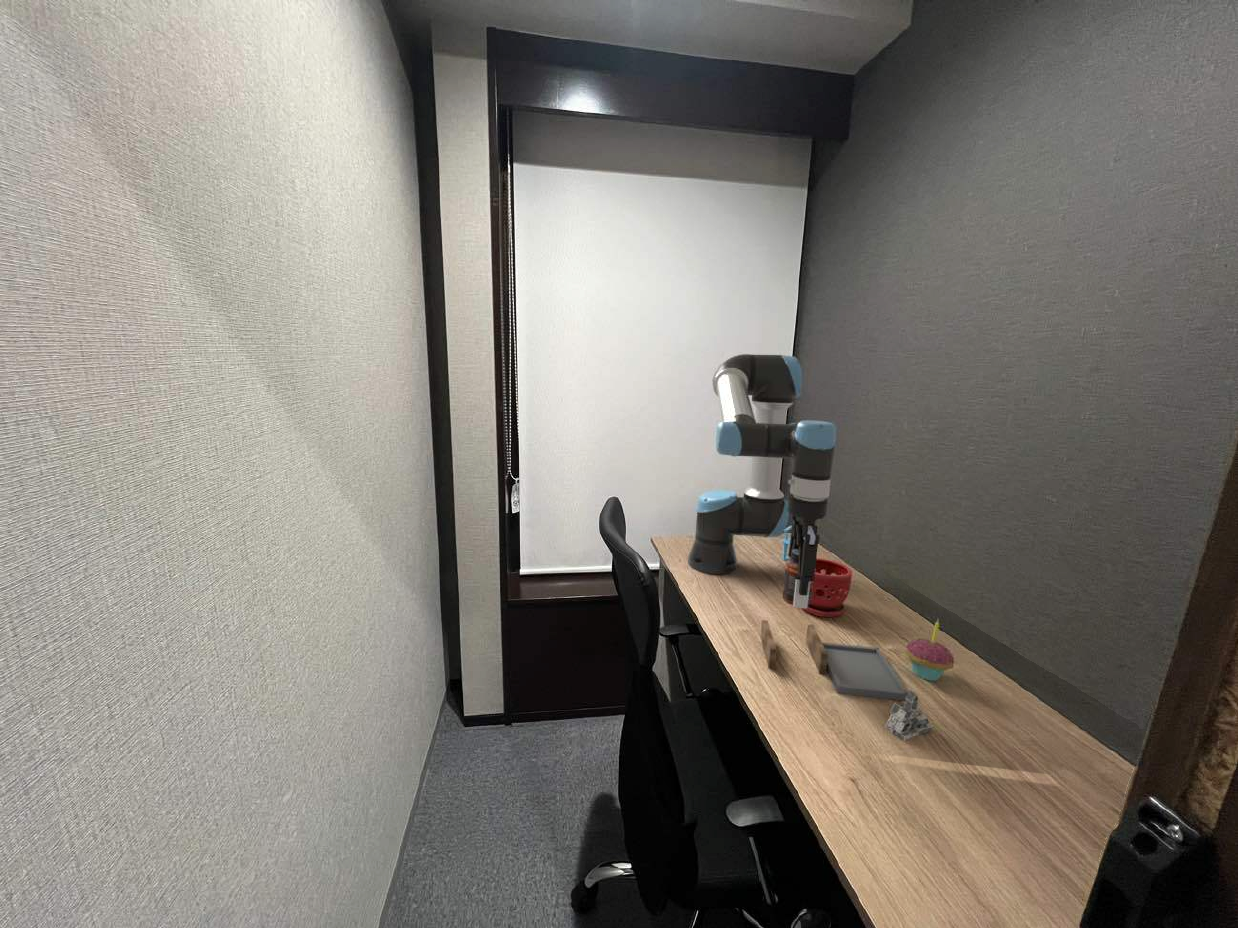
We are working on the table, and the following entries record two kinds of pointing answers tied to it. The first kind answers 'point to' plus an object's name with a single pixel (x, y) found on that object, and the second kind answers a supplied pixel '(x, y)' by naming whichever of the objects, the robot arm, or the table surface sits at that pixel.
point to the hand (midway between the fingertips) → (796, 599)
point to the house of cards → (908, 719)
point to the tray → (862, 672)
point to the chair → (786, 544)
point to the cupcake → (929, 657)
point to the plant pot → (829, 588)
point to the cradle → (811, 641)
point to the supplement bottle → (789, 579)
